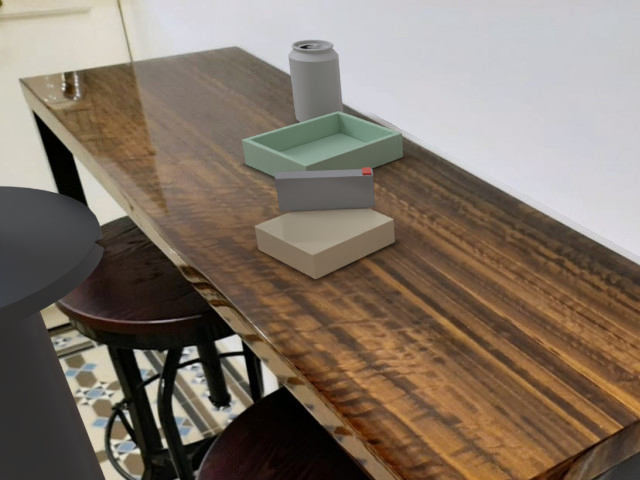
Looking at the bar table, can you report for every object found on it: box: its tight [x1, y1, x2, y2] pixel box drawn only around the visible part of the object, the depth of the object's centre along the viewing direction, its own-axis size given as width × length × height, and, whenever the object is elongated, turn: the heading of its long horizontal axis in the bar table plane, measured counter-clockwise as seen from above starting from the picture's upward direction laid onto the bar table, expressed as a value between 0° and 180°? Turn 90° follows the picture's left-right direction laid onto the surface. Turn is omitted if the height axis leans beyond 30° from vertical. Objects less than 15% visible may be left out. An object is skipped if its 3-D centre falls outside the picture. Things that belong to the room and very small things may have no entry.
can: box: [287, 39, 344, 123], centre depth 116 cm, size 8×8×12 cm
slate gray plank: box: [274, 167, 376, 212], centre depth 86 cm, size 11×2×4 cm, turn 101°
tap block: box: [253, 208, 396, 280], centre depth 85 cm, size 12×10×3 cm
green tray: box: [241, 111, 404, 178], centre depth 106 cm, size 18×14×4 cm
